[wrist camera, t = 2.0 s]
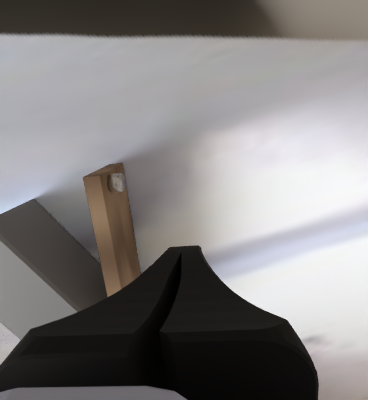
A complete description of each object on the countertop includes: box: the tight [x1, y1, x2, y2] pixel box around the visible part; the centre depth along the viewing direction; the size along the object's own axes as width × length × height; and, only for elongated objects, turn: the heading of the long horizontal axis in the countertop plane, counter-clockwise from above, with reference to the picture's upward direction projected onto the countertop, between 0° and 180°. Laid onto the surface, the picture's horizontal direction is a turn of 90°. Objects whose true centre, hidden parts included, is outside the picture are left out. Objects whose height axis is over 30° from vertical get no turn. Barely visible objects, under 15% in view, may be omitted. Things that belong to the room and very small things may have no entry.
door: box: [83, 163, 141, 297], centre depth 20 cm, size 12×2×5 cm, turn 6°
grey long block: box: [0, 199, 108, 340], centre depth 21 cm, size 12×5×5 cm, turn 41°
